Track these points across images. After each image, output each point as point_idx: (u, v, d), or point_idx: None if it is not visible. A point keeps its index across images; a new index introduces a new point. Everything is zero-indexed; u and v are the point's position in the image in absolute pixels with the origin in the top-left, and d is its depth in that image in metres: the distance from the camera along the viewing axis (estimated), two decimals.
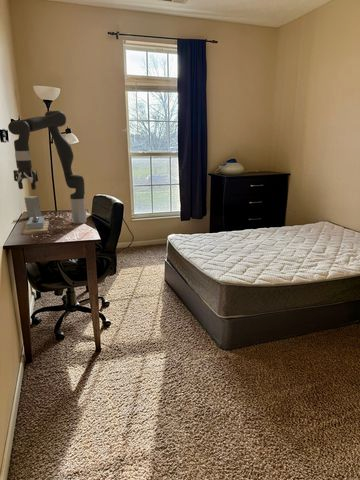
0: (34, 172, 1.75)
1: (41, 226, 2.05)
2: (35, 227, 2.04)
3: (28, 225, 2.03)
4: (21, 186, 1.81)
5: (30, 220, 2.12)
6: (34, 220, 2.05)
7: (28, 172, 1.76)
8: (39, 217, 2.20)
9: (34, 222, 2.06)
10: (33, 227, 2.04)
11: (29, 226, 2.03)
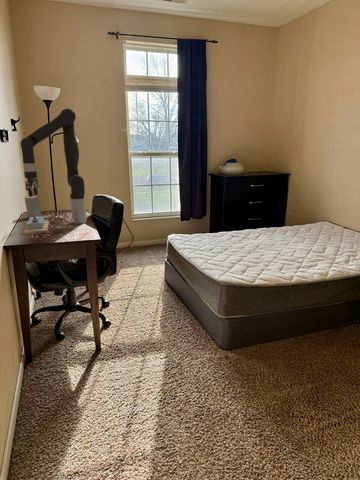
0: None
1: (41, 226, 2.05)
2: (35, 227, 2.04)
3: (28, 225, 2.03)
4: None
5: (30, 220, 2.12)
6: (34, 220, 2.05)
7: (35, 180, 2.12)
8: (39, 217, 2.20)
9: (34, 222, 2.06)
10: (33, 227, 2.04)
11: (29, 226, 2.03)
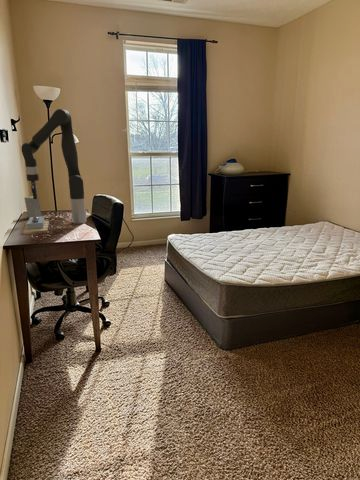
0: None
1: (41, 226, 2.05)
2: (35, 227, 2.04)
3: (28, 225, 2.03)
4: None
5: (30, 220, 2.12)
6: (34, 220, 2.05)
7: None
8: (39, 217, 2.20)
9: (34, 222, 2.06)
10: (33, 227, 2.04)
11: (29, 226, 2.03)
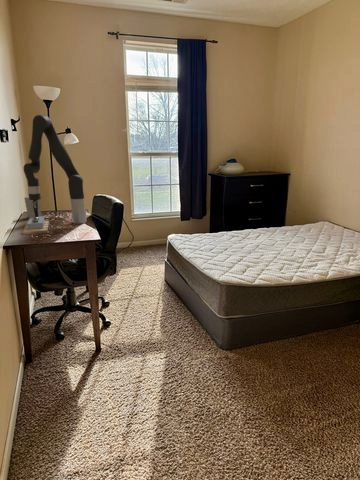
0: None
1: (41, 226, 2.05)
2: (35, 227, 2.04)
3: (28, 225, 2.03)
4: None
5: (30, 220, 2.12)
6: (34, 220, 2.05)
7: None
8: (39, 217, 2.20)
9: (34, 222, 2.06)
10: (33, 227, 2.04)
11: (29, 226, 2.03)
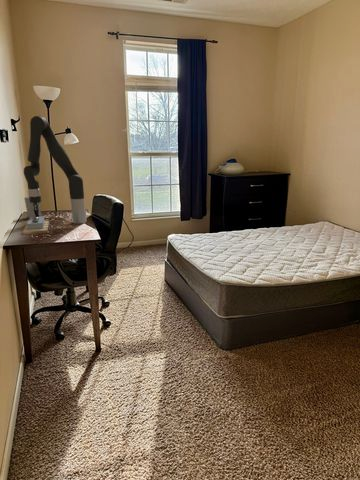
0: None
1: (41, 226, 2.05)
2: (35, 227, 2.04)
3: (28, 225, 2.03)
4: None
5: (30, 220, 2.11)
6: (34, 220, 2.05)
7: None
8: (39, 217, 2.20)
9: (34, 222, 2.06)
10: (33, 227, 2.04)
11: (29, 226, 2.03)
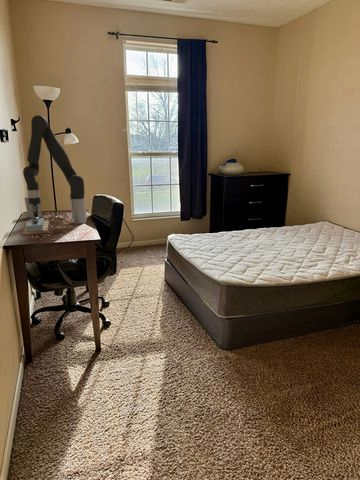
0: None
1: (40, 228, 2.00)
2: (34, 229, 1.99)
3: (27, 227, 1.97)
4: None
5: (29, 222, 2.06)
6: (34, 220, 2.05)
7: None
8: (38, 219, 2.15)
9: (34, 222, 2.06)
10: (32, 229, 1.99)
11: (28, 228, 1.98)
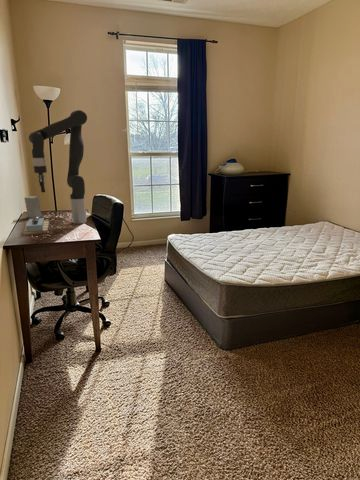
0: None
1: (40, 228, 2.00)
2: (34, 229, 1.99)
3: (27, 227, 1.97)
4: None
5: (29, 222, 2.06)
6: (34, 220, 2.05)
7: None
8: (38, 219, 2.15)
9: (34, 222, 2.06)
10: (32, 229, 1.99)
11: (28, 228, 1.98)
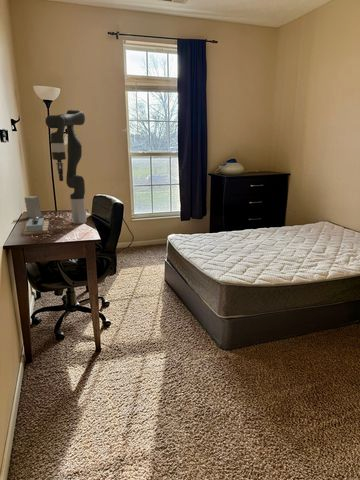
0: None
1: (40, 228, 2.00)
2: (34, 229, 1.99)
3: (27, 227, 1.97)
4: None
5: (29, 222, 2.06)
6: (34, 220, 2.05)
7: None
8: (38, 219, 2.15)
9: (34, 222, 2.06)
10: (32, 229, 1.99)
11: (28, 228, 1.98)
